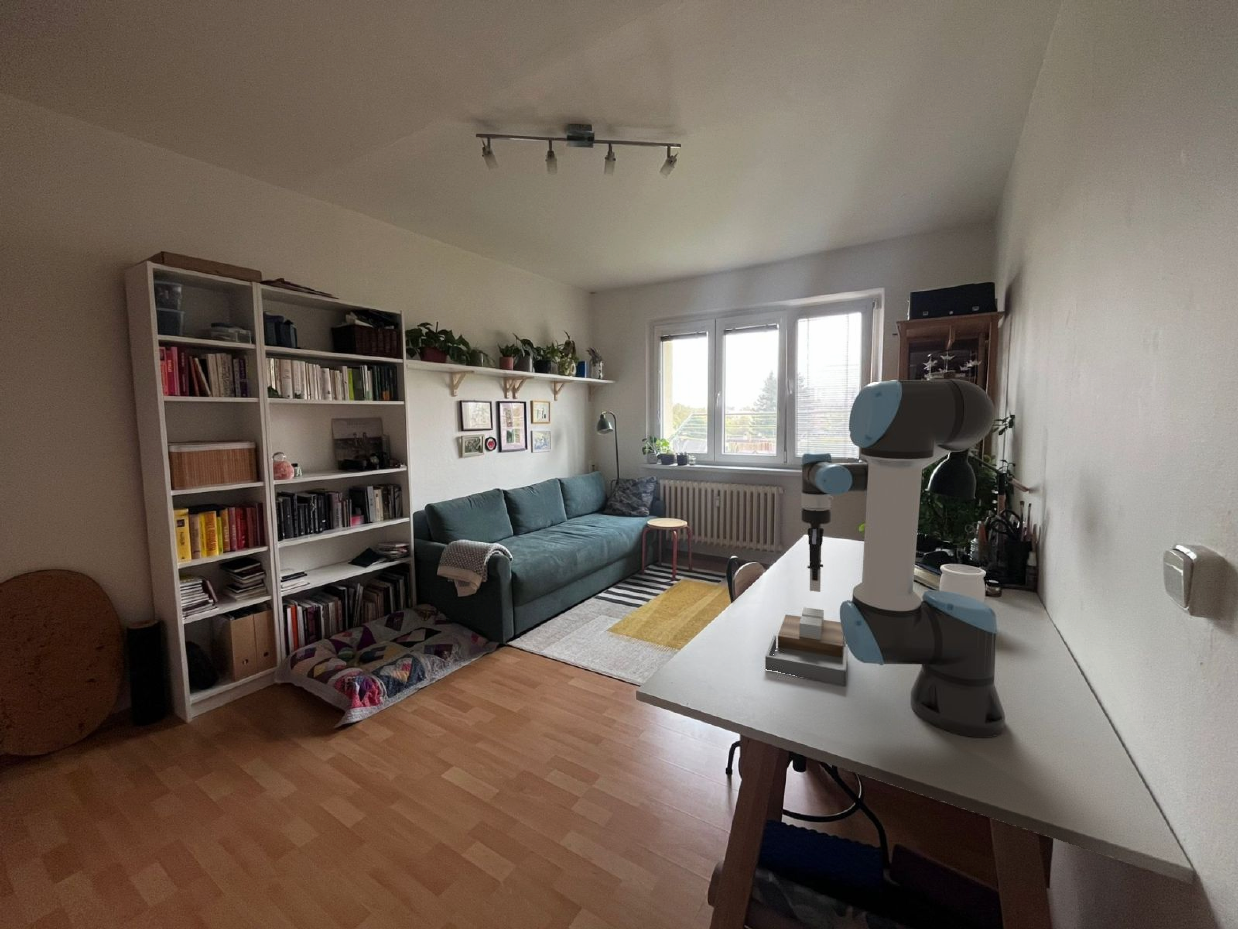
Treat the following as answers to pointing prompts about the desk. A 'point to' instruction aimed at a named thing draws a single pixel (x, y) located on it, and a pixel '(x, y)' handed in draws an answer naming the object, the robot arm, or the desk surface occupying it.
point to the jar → (963, 580)
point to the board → (826, 646)
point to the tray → (807, 664)
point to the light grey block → (810, 627)
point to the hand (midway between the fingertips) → (815, 590)
